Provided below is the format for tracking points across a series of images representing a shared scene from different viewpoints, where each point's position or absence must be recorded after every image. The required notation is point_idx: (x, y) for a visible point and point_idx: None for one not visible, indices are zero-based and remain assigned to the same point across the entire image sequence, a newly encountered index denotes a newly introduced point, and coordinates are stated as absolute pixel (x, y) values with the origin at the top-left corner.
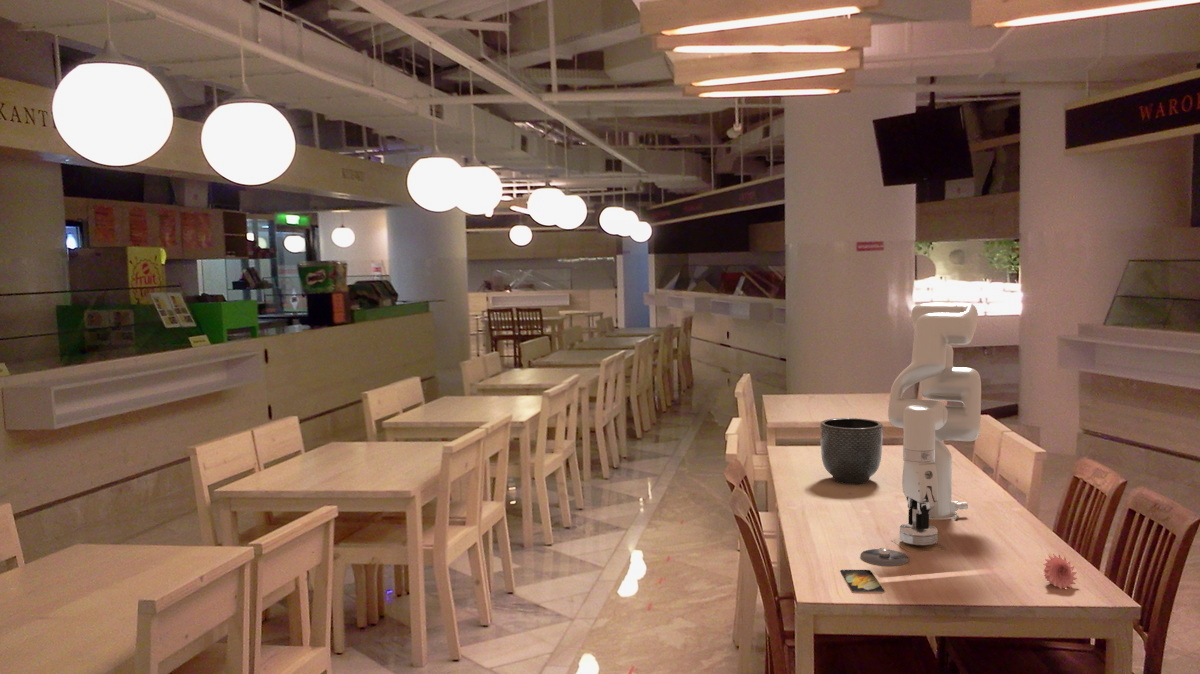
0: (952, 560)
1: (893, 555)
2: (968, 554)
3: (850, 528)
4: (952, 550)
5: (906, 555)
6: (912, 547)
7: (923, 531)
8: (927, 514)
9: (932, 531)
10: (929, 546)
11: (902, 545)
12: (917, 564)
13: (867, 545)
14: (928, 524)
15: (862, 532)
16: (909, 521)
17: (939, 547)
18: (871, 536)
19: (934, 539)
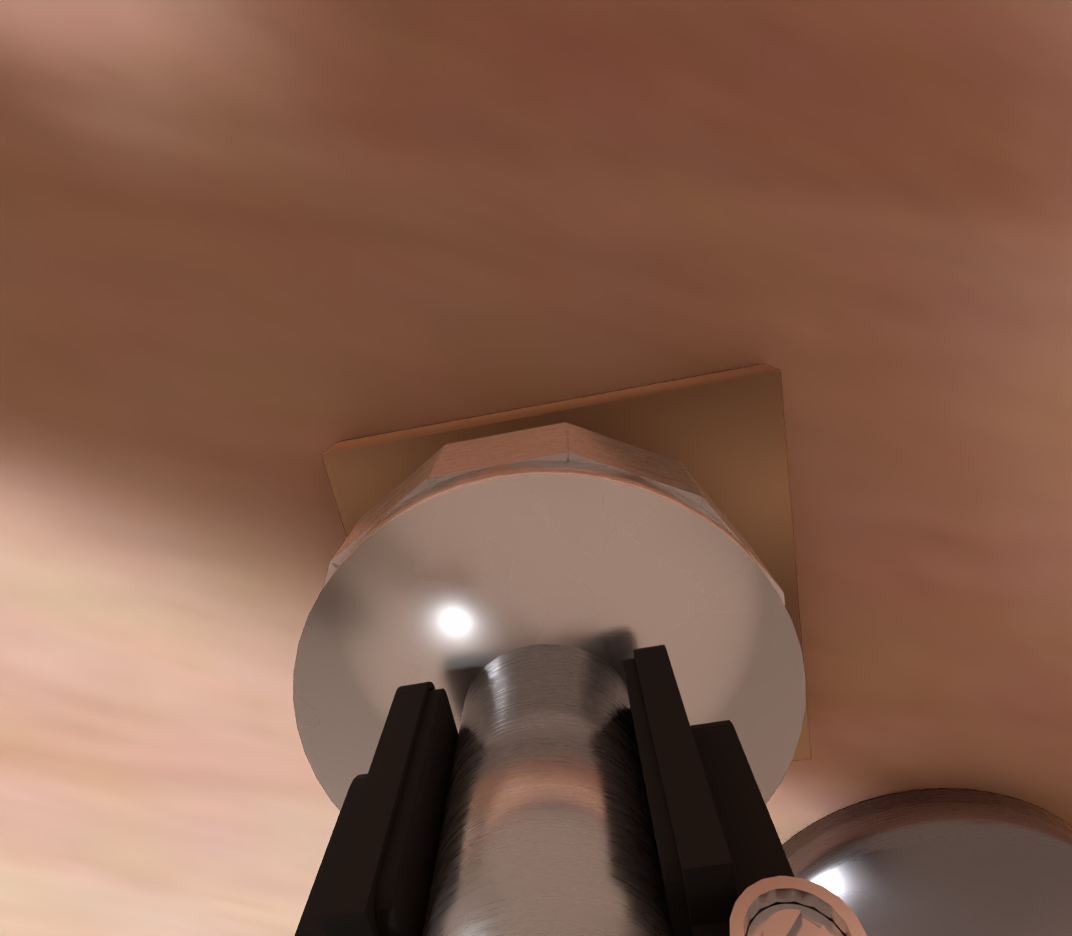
0: (1016, 390)
1: (949, 929)
2: (853, 119)
3: (19, 928)
4: (679, 265)
5: (979, 840)
6: None
7: (693, 697)
8: (724, 860)
9: (719, 589)
10: None
11: None
12: (1036, 733)
13: None
14: (675, 683)
15: (119, 880)
16: None
17: (710, 435)
18: (226, 849)
19: (732, 528)
